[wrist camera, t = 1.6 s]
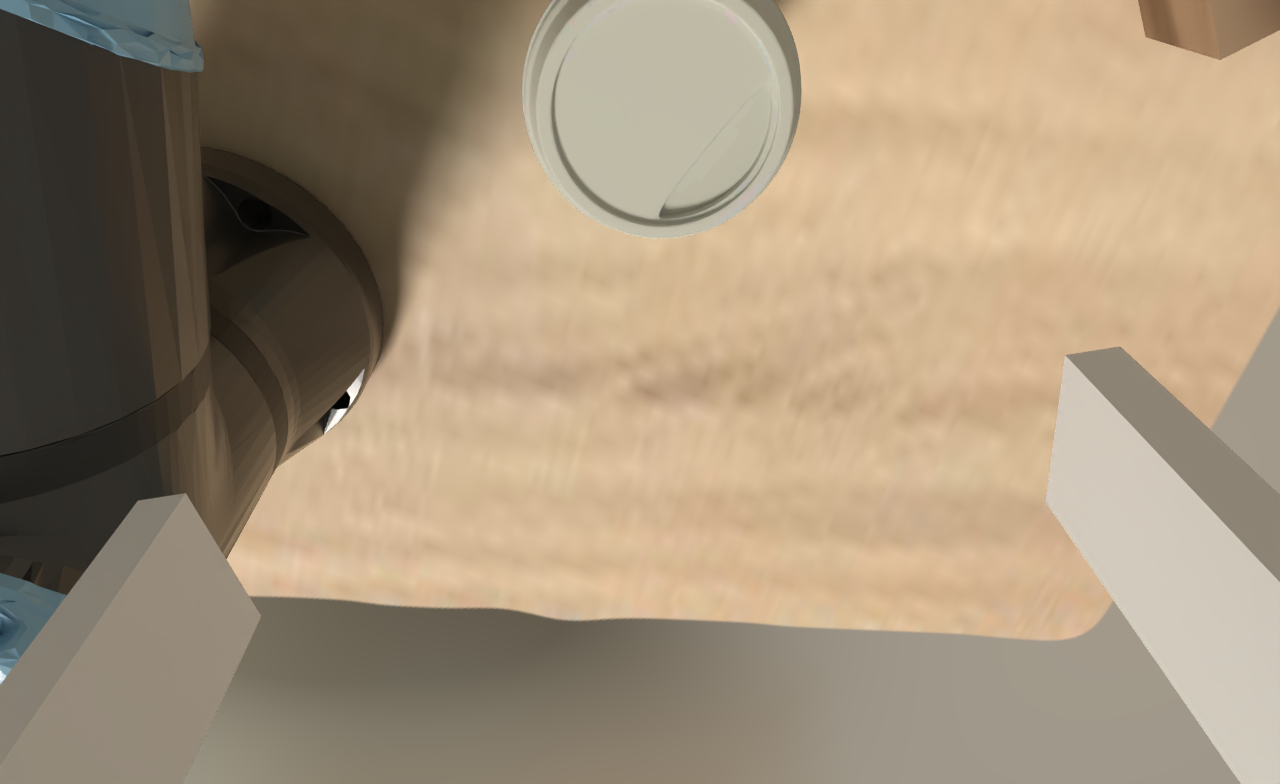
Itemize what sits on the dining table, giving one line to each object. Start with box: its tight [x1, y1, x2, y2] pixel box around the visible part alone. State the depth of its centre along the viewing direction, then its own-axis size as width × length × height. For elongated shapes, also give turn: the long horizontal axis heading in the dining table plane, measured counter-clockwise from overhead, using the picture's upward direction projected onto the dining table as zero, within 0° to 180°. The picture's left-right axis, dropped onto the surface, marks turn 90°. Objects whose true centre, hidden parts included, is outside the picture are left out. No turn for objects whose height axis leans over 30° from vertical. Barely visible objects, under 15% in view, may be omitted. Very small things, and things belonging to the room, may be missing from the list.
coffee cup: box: [522, 0, 801, 239], centre depth 28 cm, size 9×8×12 cm
